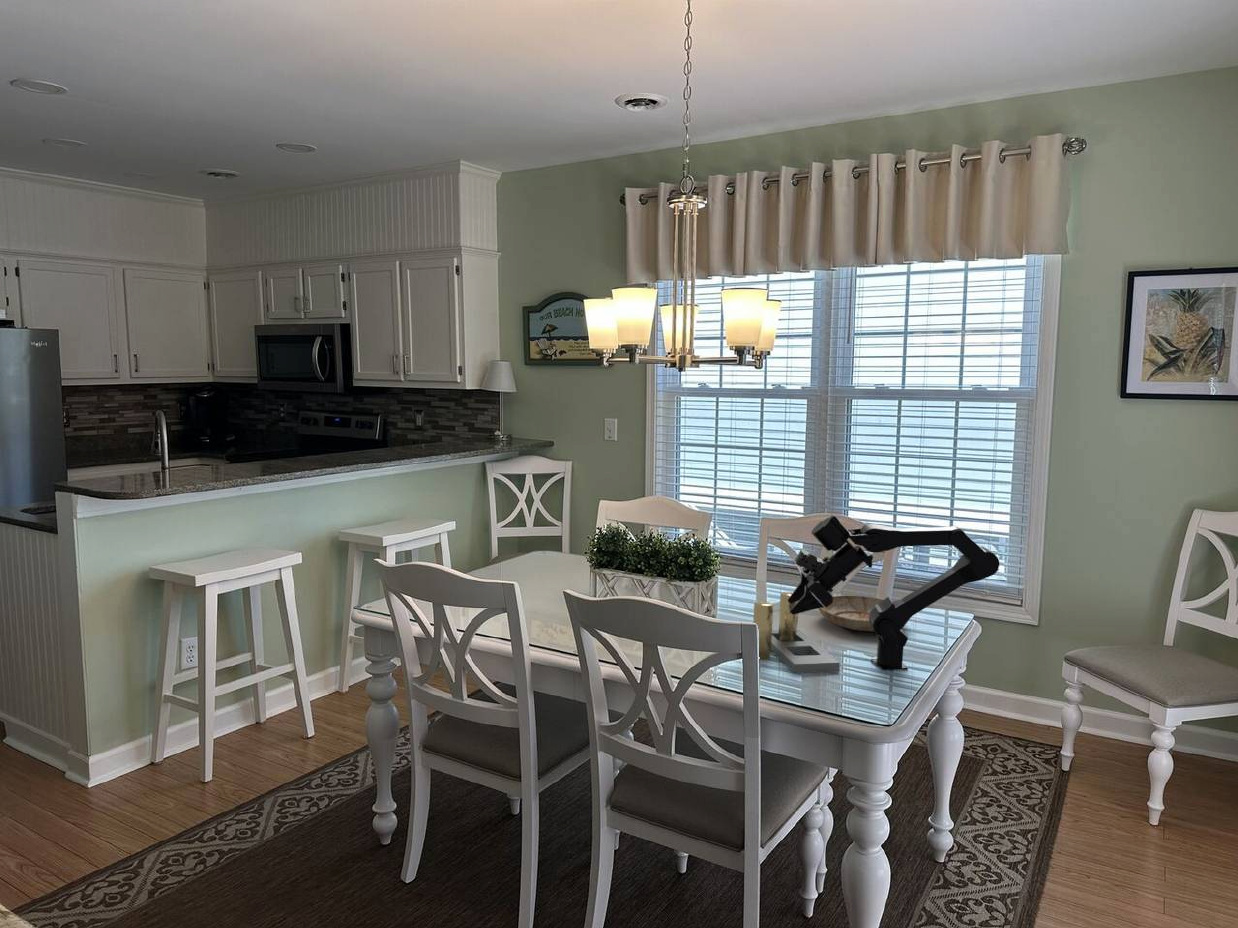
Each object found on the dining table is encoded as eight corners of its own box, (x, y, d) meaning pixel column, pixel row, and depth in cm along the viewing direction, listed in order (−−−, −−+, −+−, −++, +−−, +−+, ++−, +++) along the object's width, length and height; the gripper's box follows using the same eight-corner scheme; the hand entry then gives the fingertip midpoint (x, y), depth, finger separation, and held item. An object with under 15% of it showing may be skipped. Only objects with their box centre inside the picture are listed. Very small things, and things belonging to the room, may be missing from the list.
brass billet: (773, 659, 204) (776, 606, 202) (755, 660, 203) (757, 607, 201) (766, 653, 208) (769, 601, 206) (749, 653, 207) (751, 601, 206)
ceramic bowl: (799, 617, 238) (800, 600, 238) (863, 608, 249) (864, 591, 248) (858, 643, 218) (859, 624, 217) (924, 631, 229) (926, 613, 228)
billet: (798, 647, 213) (801, 596, 211) (781, 648, 212) (784, 597, 210) (792, 641, 217) (794, 591, 215) (775, 642, 216) (777, 592, 215)
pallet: (839, 670, 197) (839, 662, 197) (794, 672, 195) (794, 664, 195) (799, 637, 221) (799, 629, 221) (758, 638, 219) (759, 630, 219)
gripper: (813, 531, 210) (765, 572, 212) (821, 548, 191) (768, 593, 194) (844, 565, 210) (796, 605, 212) (855, 584, 191) (801, 629, 194)
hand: (790, 607), depth 203 cm, fingers open, 9 cm apart
